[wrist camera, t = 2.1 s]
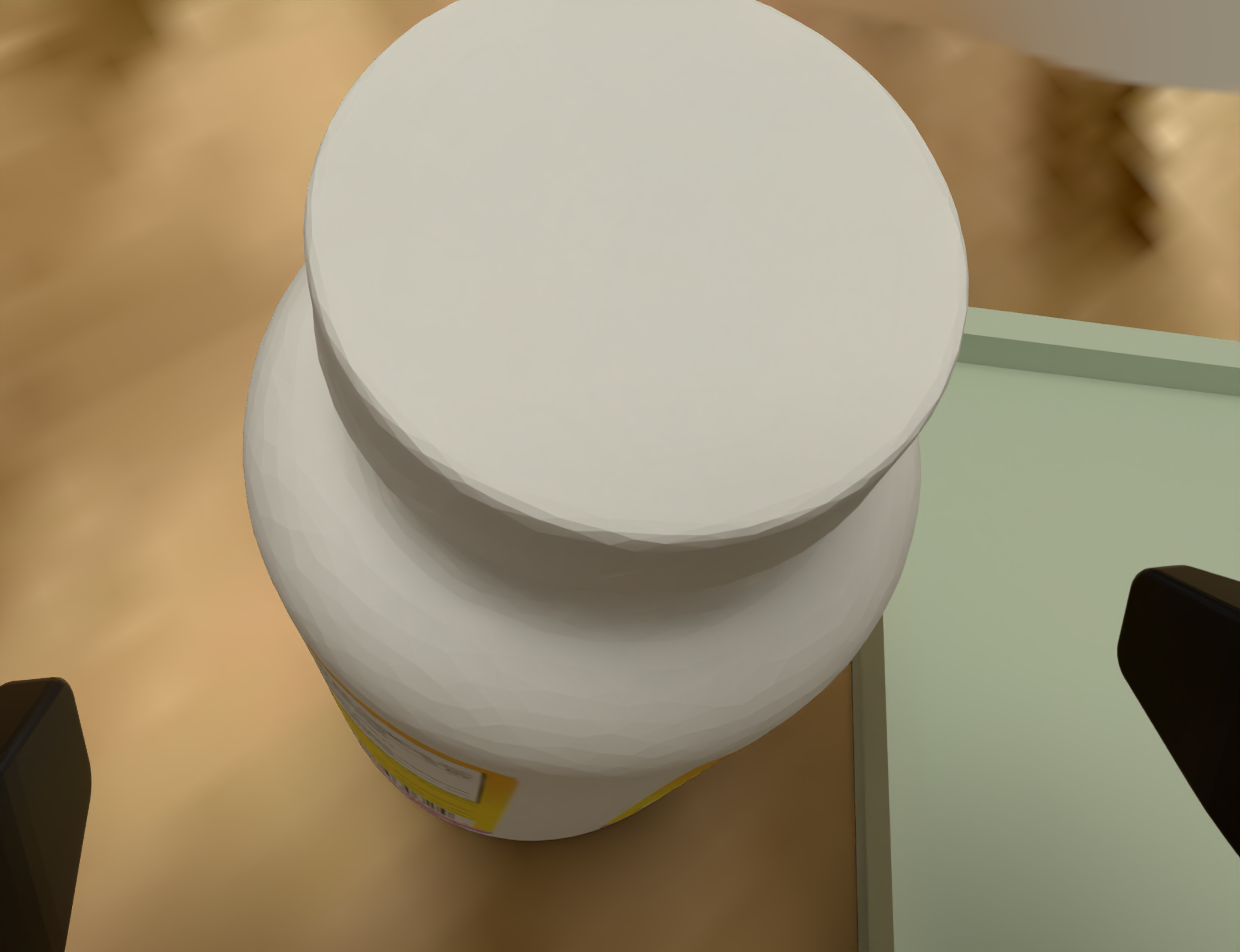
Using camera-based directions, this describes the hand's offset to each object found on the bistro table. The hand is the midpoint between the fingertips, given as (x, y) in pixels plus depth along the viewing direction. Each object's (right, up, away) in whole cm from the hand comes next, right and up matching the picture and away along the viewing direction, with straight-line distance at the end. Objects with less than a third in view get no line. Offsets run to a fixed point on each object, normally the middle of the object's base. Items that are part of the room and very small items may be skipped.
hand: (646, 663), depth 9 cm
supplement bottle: (-2, -1, +10) cm, 11 cm away
